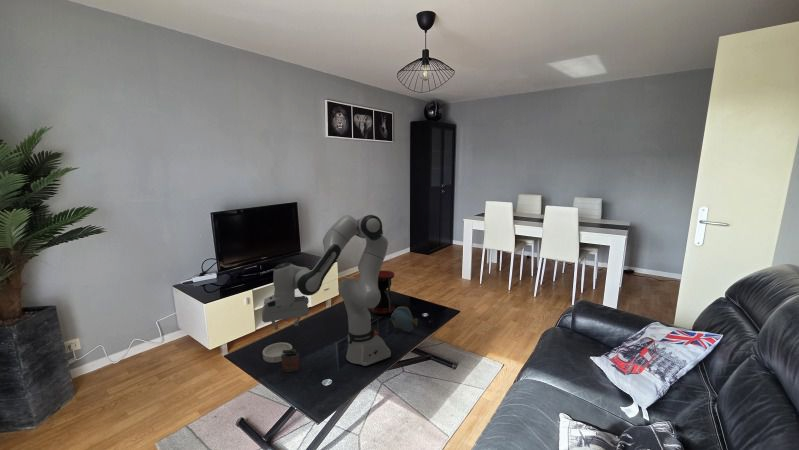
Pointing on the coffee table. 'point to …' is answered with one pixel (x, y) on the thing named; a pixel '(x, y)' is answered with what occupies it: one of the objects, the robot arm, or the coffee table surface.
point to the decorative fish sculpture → (403, 319)
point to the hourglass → (385, 300)
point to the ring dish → (275, 352)
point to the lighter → (290, 360)
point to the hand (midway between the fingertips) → (286, 327)
